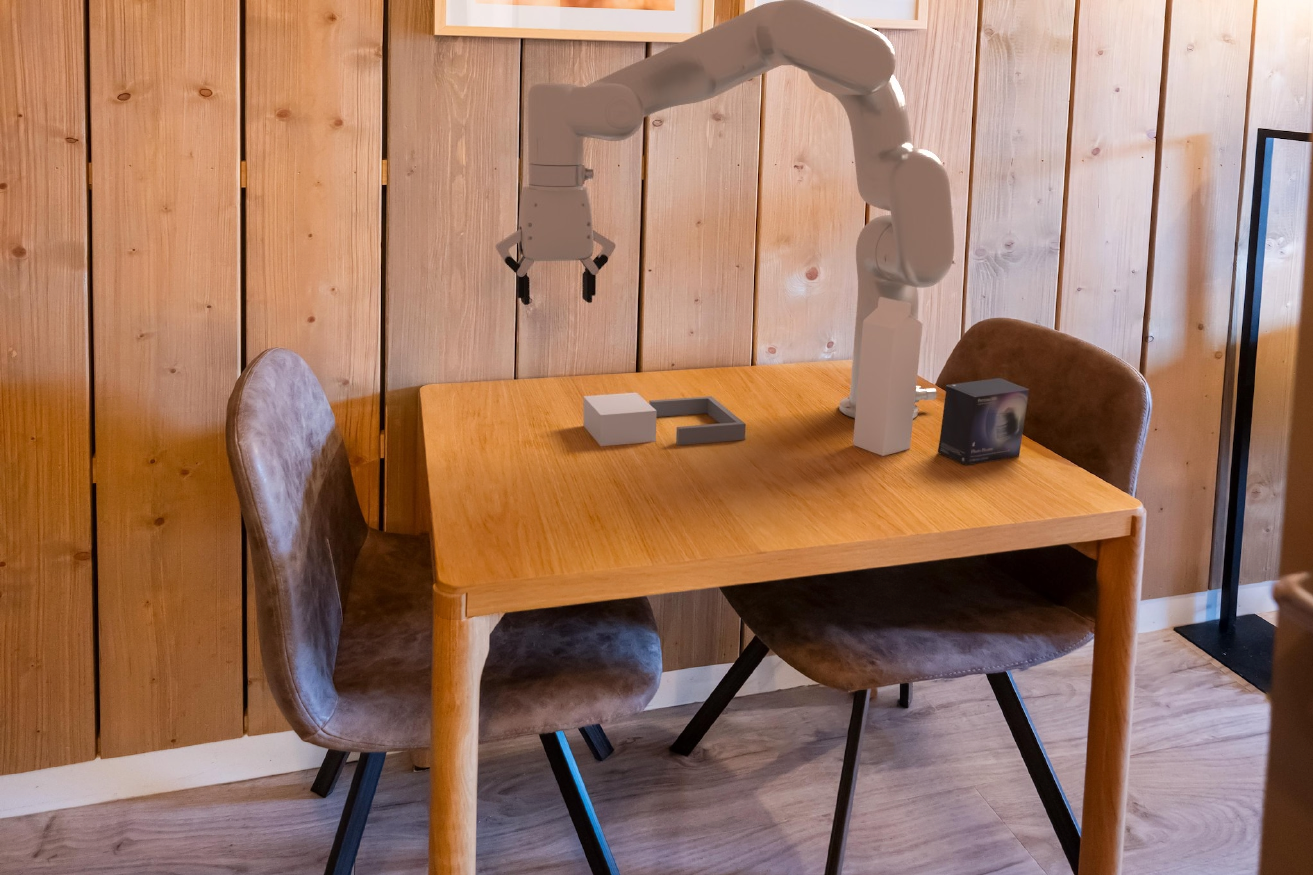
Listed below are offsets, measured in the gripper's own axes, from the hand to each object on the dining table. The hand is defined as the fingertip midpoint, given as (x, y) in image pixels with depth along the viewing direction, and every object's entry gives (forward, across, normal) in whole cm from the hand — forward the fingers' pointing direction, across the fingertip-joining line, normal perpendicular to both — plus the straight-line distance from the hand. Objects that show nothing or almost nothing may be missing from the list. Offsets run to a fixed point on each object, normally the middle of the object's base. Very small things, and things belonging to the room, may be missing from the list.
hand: (556, 301), depth 153 cm
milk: (+20, -46, +16) cm, 52 cm away
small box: (+20, -58, +22) cm, 65 cm away
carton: (+21, -10, 0) cm, 23 cm away
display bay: (+20, -22, 0) cm, 30 cm away
